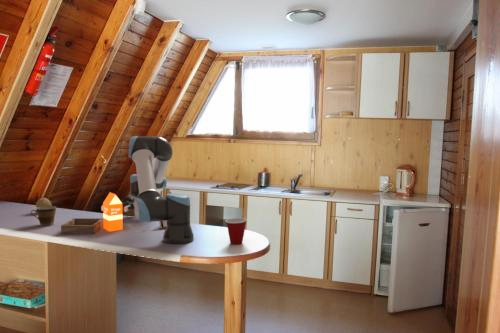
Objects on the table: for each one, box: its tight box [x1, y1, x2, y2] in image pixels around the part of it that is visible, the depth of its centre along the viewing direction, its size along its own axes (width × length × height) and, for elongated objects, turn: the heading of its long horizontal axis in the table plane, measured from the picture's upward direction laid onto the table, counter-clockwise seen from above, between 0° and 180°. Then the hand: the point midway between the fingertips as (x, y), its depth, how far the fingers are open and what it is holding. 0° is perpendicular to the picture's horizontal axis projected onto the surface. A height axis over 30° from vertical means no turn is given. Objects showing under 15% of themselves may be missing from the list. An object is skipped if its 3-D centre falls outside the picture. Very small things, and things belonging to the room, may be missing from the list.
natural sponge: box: [35, 197, 53, 208], centre depth 262 cm, size 9×9×10 cm
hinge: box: [158, 220, 167, 229], centre depth 235 cm, size 17×5×10 cm, turn 150°
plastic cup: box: [224, 217, 248, 246], centre depth 201 cm, size 11×11×12 cm
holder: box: [60, 217, 104, 235], centre depth 222 cm, size 17×17×4 cm
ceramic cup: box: [30, 205, 57, 227], centre depth 230 cm, size 13×10×10 cm
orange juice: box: [102, 192, 124, 232], centre depth 224 cm, size 8×9×20 cm
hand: (113, 209), depth 226 cm, fingers open, 13 cm apart
